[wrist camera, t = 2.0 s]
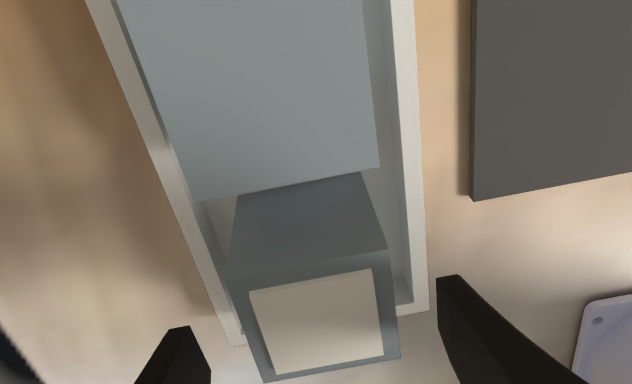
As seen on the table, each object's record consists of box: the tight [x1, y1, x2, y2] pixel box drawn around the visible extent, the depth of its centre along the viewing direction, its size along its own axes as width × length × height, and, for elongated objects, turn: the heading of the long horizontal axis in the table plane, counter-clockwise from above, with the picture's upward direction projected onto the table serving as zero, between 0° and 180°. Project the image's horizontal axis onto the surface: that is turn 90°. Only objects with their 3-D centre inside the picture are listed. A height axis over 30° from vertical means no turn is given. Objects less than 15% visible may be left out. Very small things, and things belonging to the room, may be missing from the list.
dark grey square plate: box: [469, 0, 632, 202], centre depth 14 cm, size 8×7×1 cm
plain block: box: [116, 0, 380, 203], centre depth 11 cm, size 4×4×4 cm
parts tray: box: [85, 0, 430, 347], centre depth 14 cm, size 15×8×2 cm, turn 10°
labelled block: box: [224, 172, 401, 383], centre depth 14 cm, size 4×4×5 cm
